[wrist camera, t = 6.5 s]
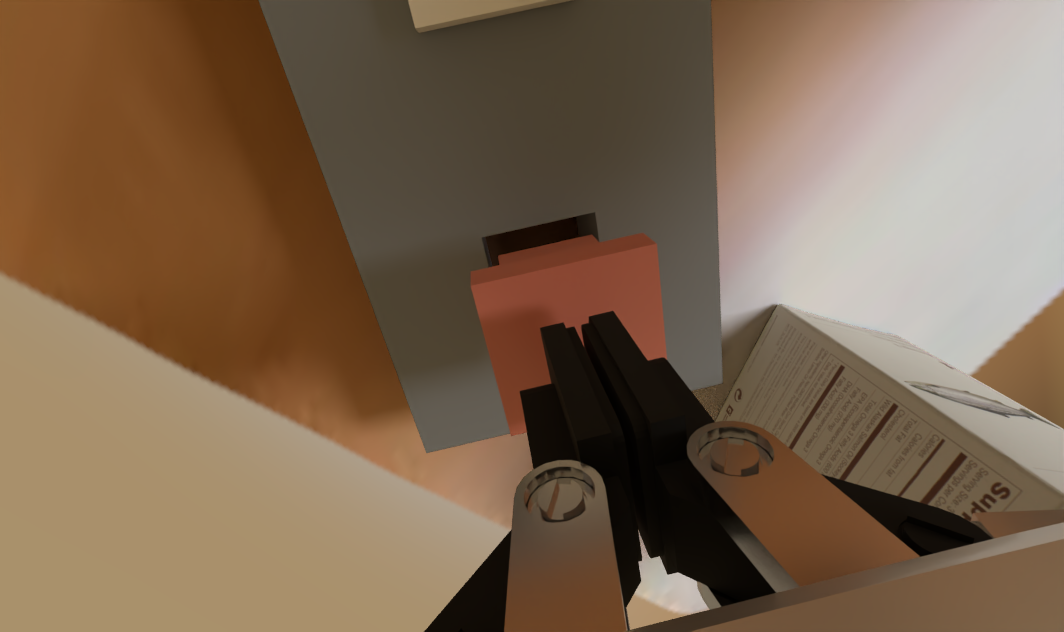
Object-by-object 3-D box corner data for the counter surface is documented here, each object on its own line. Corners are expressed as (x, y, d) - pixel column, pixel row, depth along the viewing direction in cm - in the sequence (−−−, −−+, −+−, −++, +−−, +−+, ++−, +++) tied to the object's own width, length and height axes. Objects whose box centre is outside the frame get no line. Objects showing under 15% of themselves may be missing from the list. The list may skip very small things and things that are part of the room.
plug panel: (635, -344, 14) (695, -502, 10) (682, 337, 23) (722, 383, 19) (208, -261, 13) (112, -393, 10) (433, 396, 23) (426, 452, 19)
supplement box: (898, 332, 24) (1277, 541, 13) (821, 448, 27) (1080, 706, 16) (775, 296, 23) (1086, 500, 11) (706, 424, 25) (901, 693, 14)
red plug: (611, 207, 15) (657, 243, 11) (626, 332, 17) (670, 398, 13) (469, 239, 15) (470, 285, 11) (501, 361, 17) (511, 436, 13)
